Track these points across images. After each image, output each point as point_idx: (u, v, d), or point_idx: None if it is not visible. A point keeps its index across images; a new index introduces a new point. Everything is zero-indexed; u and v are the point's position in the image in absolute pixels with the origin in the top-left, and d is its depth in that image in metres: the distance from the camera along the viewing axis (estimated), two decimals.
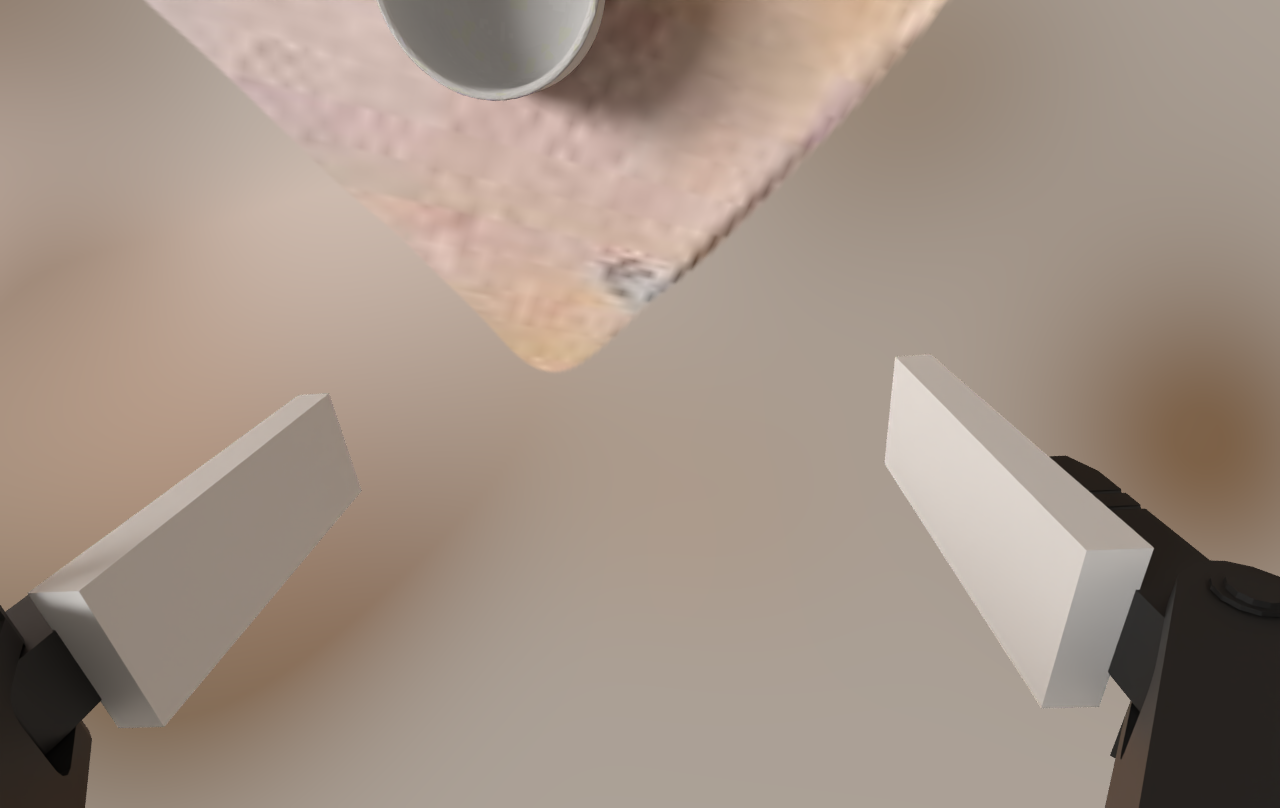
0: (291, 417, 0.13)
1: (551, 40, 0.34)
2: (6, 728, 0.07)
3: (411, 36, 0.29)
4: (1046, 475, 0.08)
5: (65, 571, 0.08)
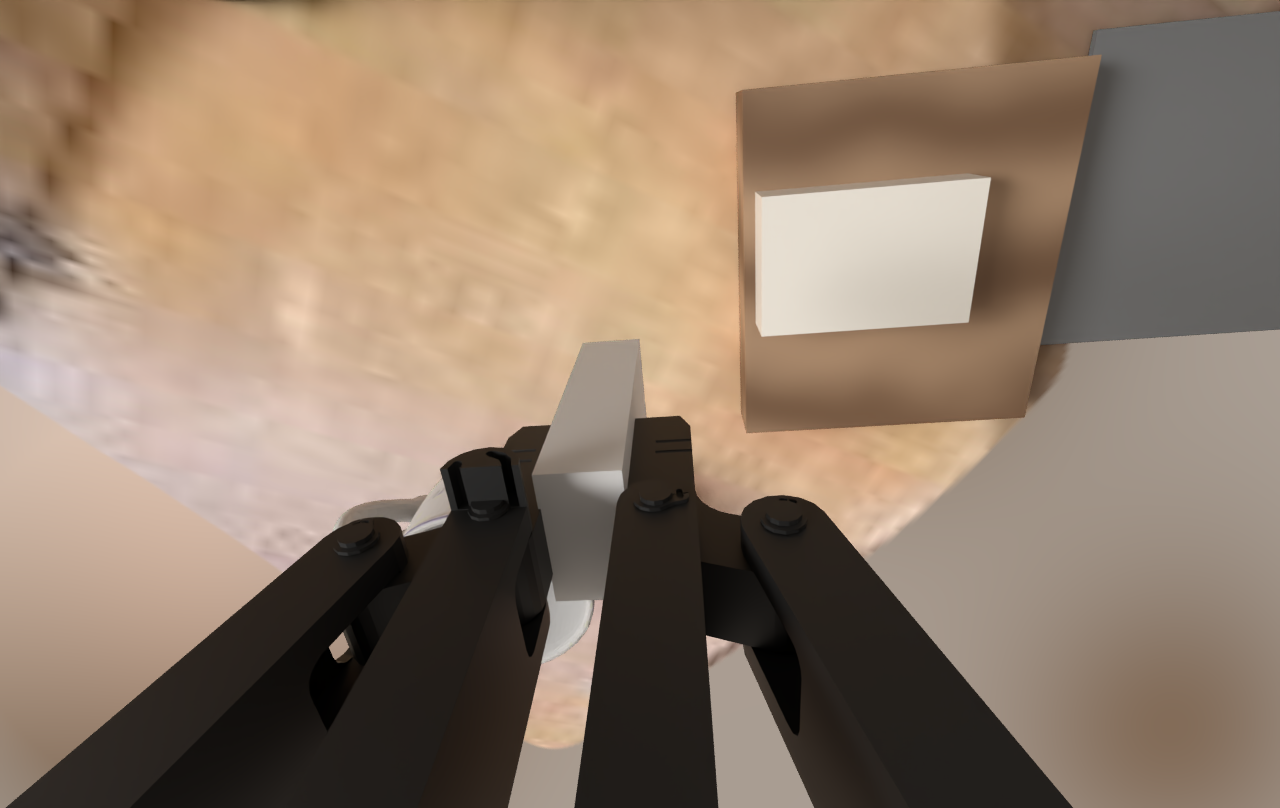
0: (599, 358, 0.14)
1: None
2: (508, 609, 0.08)
3: None
4: (611, 425, 0.11)
5: (544, 461, 0.10)
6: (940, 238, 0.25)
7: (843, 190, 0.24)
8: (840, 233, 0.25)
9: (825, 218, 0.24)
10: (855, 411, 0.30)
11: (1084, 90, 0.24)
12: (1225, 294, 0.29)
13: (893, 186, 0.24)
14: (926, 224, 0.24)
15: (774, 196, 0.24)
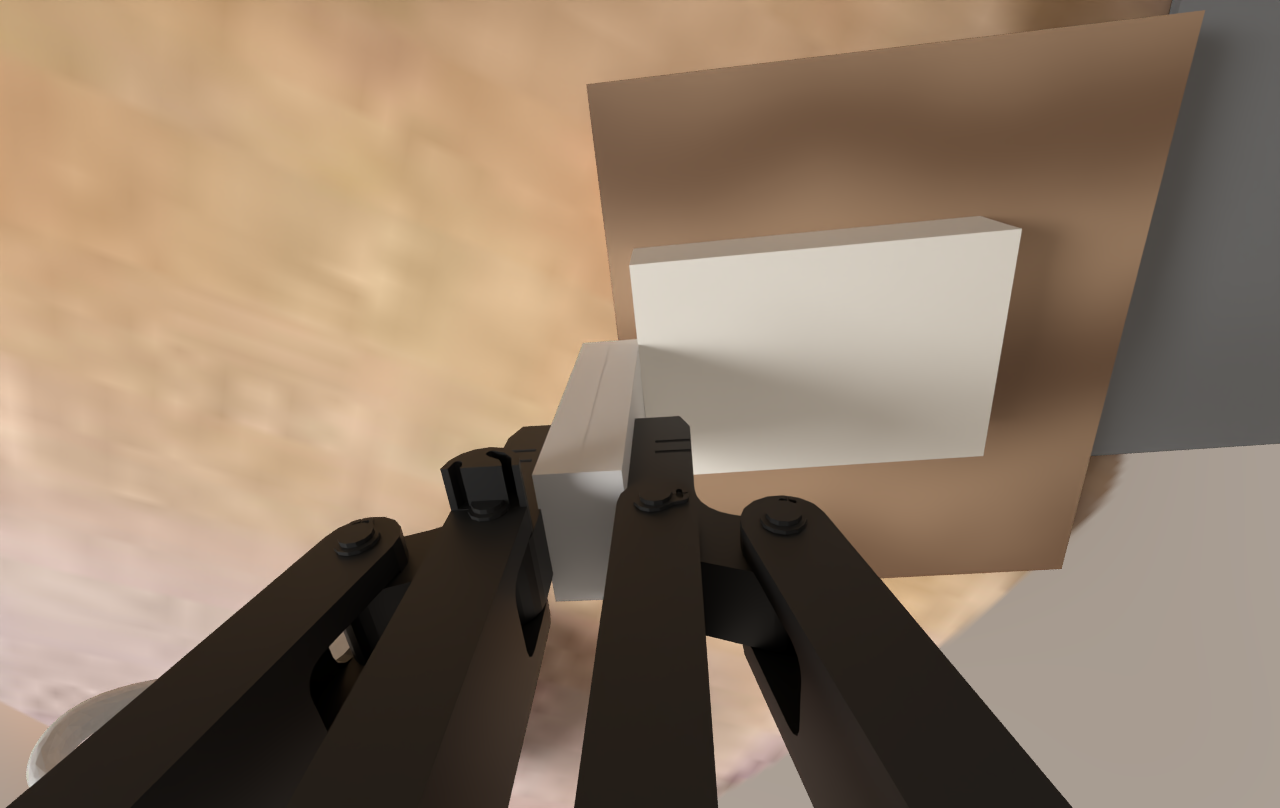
0: (599, 358, 0.14)
1: None
2: (508, 609, 0.08)
3: None
4: (611, 425, 0.11)
5: (544, 461, 0.10)
6: (935, 328, 0.15)
7: (767, 252, 0.14)
8: (766, 322, 0.15)
9: (740, 297, 0.14)
10: None
11: (1172, 74, 0.14)
12: None
13: (852, 245, 0.14)
14: (911, 306, 0.14)
15: (651, 263, 0.14)
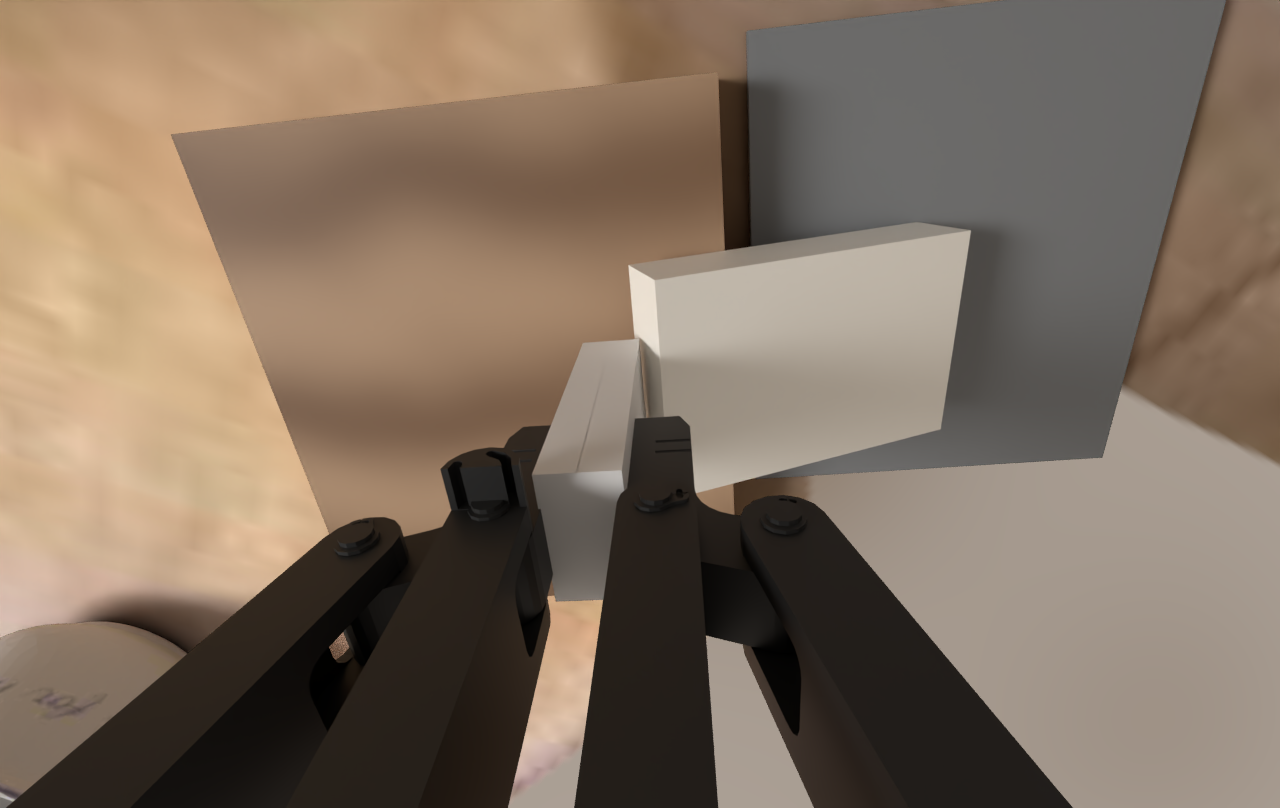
0: (599, 358, 0.14)
1: None
2: (508, 609, 0.08)
3: None
4: (610, 425, 0.11)
5: (544, 461, 0.10)
6: (909, 321, 0.16)
7: (780, 260, 0.14)
8: (779, 328, 0.15)
9: (757, 306, 0.15)
10: None
11: (705, 129, 0.15)
12: (1014, 412, 0.20)
13: (850, 250, 0.15)
14: (893, 303, 0.16)
15: (675, 277, 0.14)
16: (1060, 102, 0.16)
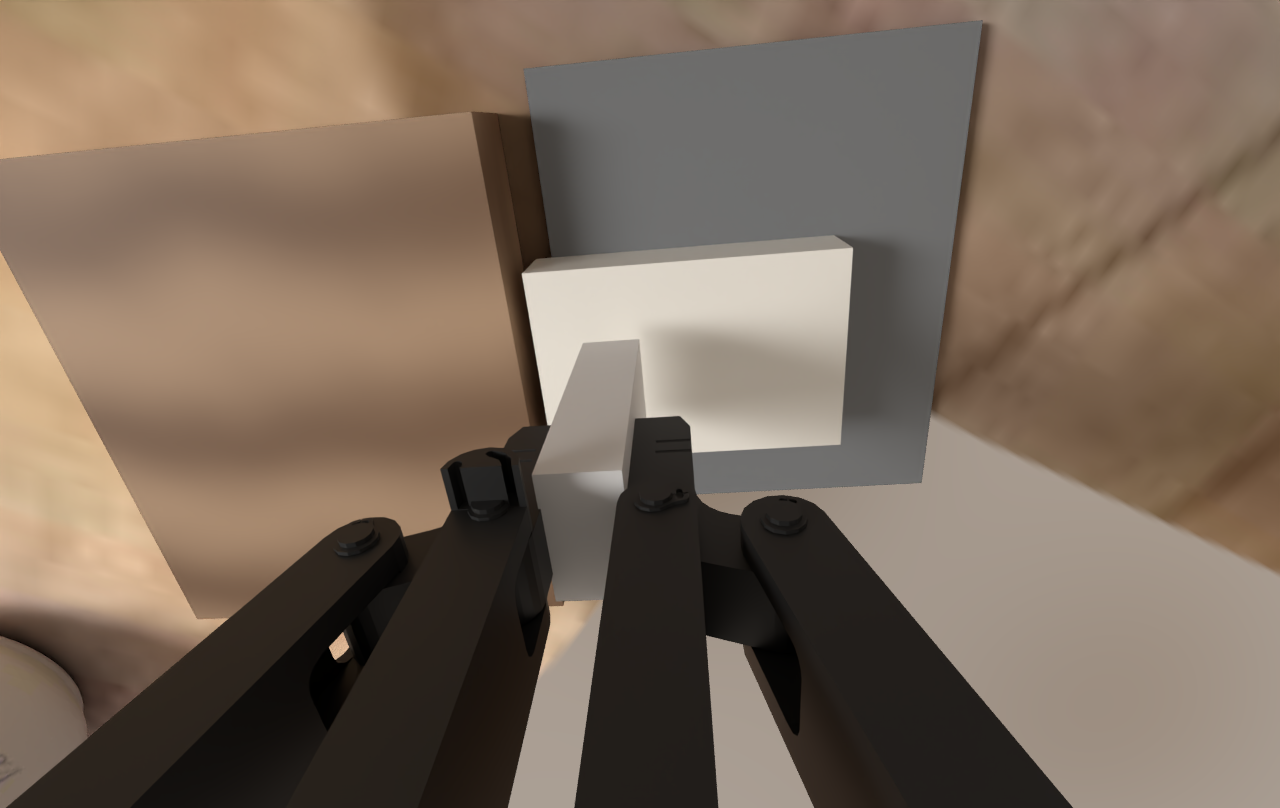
0: (599, 358, 0.14)
1: None
2: (508, 609, 0.08)
3: None
4: (610, 425, 0.11)
5: (544, 461, 0.10)
6: (788, 332, 0.17)
7: (639, 264, 0.16)
8: (643, 324, 0.17)
9: (618, 303, 0.17)
10: None
11: (467, 166, 0.15)
12: None
13: (711, 259, 0.16)
14: (765, 312, 0.17)
15: (541, 272, 0.17)
16: (833, 140, 0.17)
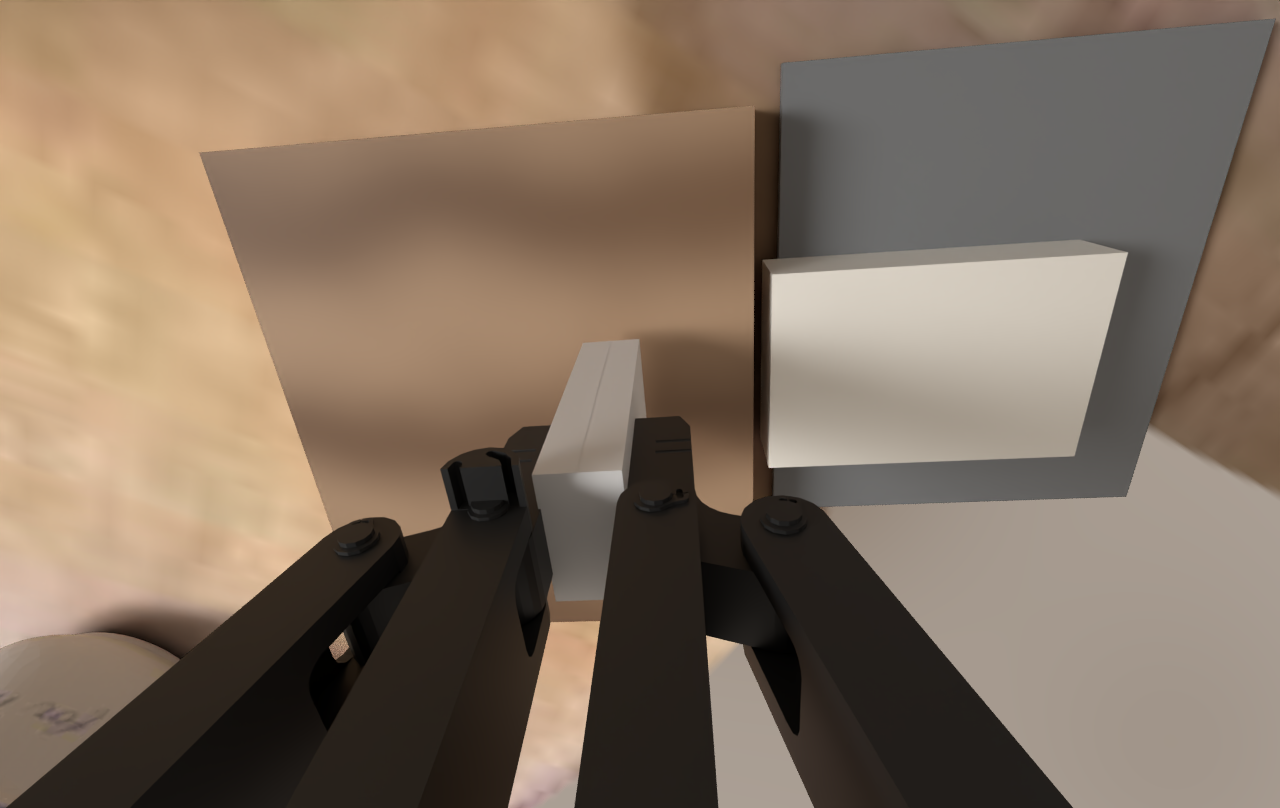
0: (599, 358, 0.14)
1: None
2: (508, 609, 0.08)
3: None
4: (611, 425, 0.11)
5: (544, 461, 0.10)
6: (1041, 339, 0.16)
7: (897, 266, 0.16)
8: (890, 329, 0.16)
9: (868, 306, 0.16)
10: None
11: (739, 161, 0.15)
12: None
13: (975, 262, 0.16)
14: (1022, 318, 0.16)
15: (791, 273, 0.16)
16: (1096, 142, 0.16)
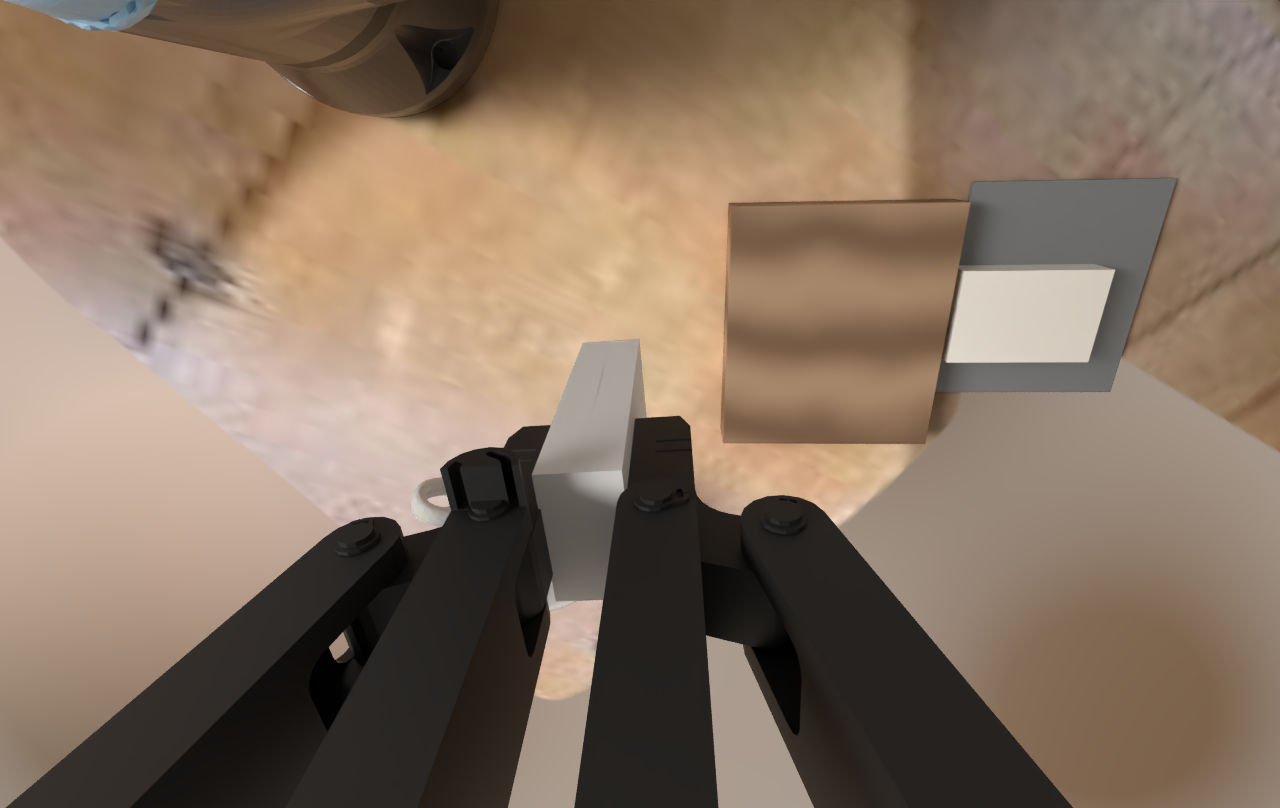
0: (599, 358, 0.14)
1: None
2: (508, 609, 0.08)
3: None
4: (611, 425, 0.11)
5: (544, 461, 0.10)
6: (1077, 305, 0.37)
7: (1018, 270, 0.37)
8: (1012, 298, 0.37)
9: (1004, 287, 0.37)
10: (803, 432, 0.41)
11: (960, 223, 0.36)
12: (1069, 364, 0.41)
13: (1051, 270, 0.37)
14: (1069, 296, 0.37)
15: (972, 271, 0.37)
16: (1103, 222, 0.37)
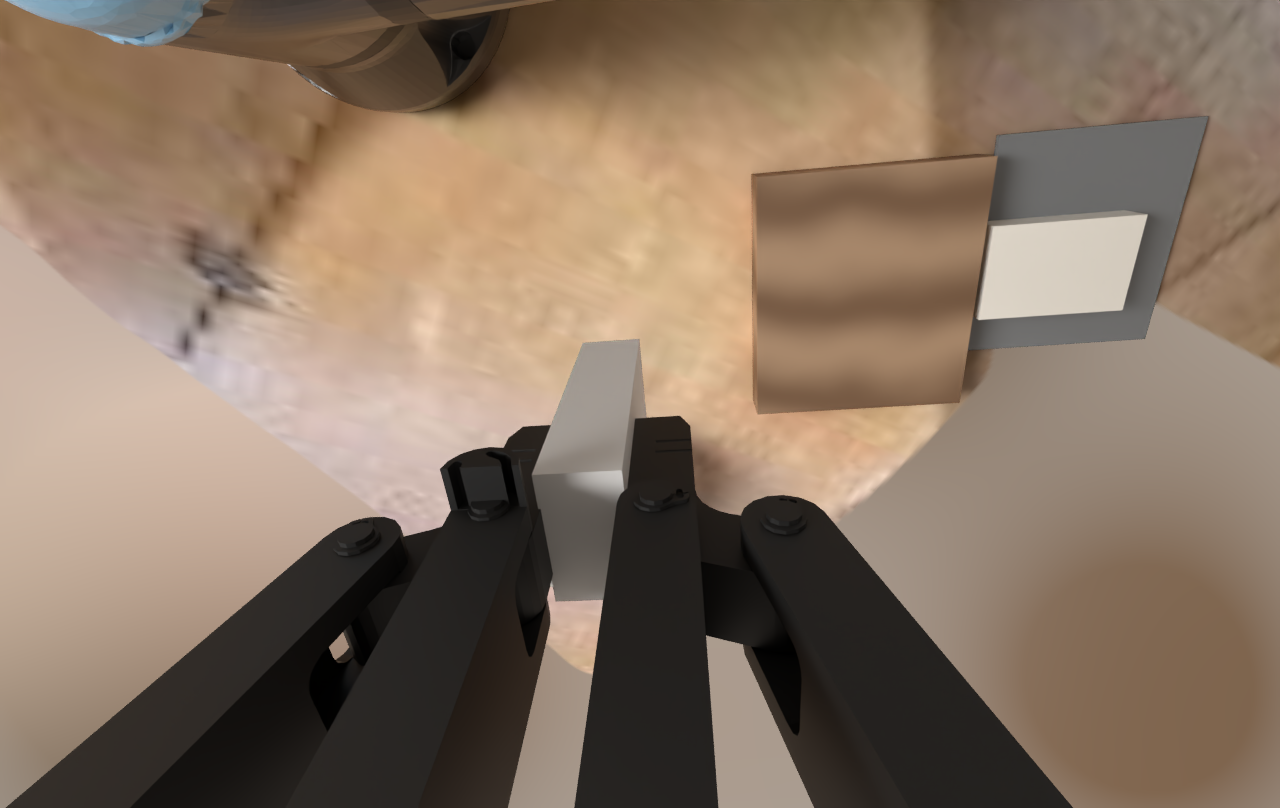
0: (599, 358, 0.14)
1: None
2: (508, 609, 0.08)
3: None
4: (611, 425, 0.11)
5: (544, 461, 0.10)
6: (1109, 253, 0.37)
7: (1048, 222, 0.37)
8: (1042, 250, 0.37)
9: (1034, 240, 0.37)
10: (836, 398, 0.42)
11: (987, 178, 0.35)
12: (1102, 313, 0.41)
13: (1082, 219, 0.36)
14: (1101, 244, 0.37)
15: (1001, 226, 0.37)
16: (1133, 167, 0.37)
